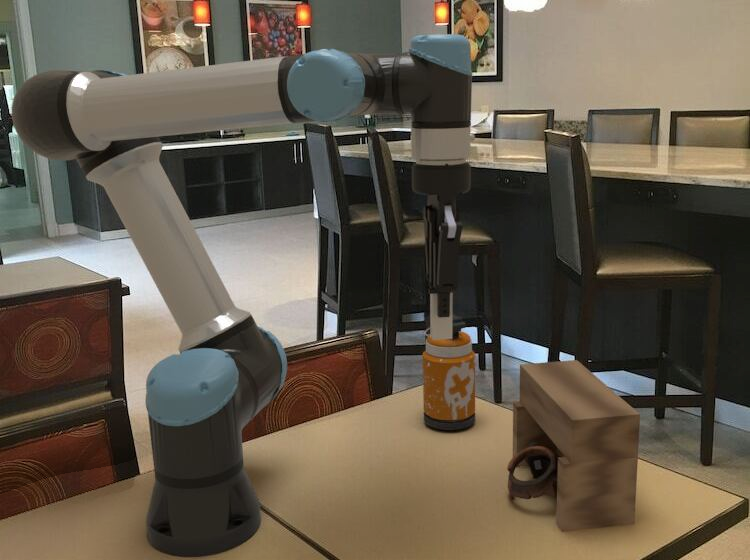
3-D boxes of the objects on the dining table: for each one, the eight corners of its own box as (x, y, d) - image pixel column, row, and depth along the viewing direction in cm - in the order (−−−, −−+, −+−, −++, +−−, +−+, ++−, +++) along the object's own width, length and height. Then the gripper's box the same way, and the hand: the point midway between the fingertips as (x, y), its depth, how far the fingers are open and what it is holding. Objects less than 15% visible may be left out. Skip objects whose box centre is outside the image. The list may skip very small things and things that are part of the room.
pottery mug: (592, 511, 109) (570, 471, 105) (530, 539, 110) (506, 500, 107) (567, 456, 120) (546, 417, 116) (510, 481, 121) (488, 444, 117)
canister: (439, 437, 133) (437, 323, 128) (409, 414, 143) (407, 307, 138) (485, 426, 137) (485, 315, 132) (453, 404, 146) (452, 300, 142)
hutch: (561, 534, 103) (564, 420, 100) (512, 461, 124) (513, 364, 120) (634, 526, 105) (640, 414, 101) (573, 455, 125) (576, 359, 121)
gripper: (483, 165, 95) (481, 351, 101) (457, 156, 108) (457, 322, 113) (422, 167, 94) (423, 355, 100) (403, 157, 107) (405, 325, 112)
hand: (441, 337), depth 107 cm, fingers closed
